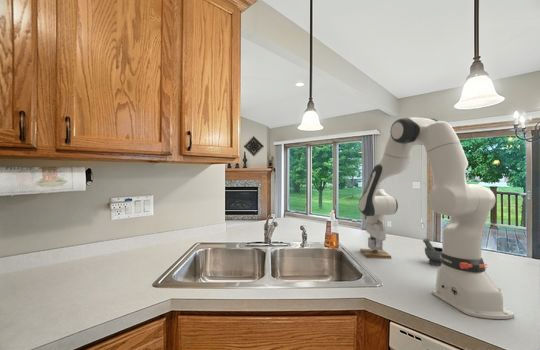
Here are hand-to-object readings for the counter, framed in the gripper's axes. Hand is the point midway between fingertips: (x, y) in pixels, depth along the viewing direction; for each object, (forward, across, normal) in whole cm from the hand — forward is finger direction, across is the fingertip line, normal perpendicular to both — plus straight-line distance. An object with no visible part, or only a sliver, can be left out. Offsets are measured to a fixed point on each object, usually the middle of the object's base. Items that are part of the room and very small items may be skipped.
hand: (375, 244), depth 139 cm
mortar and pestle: (+5, -12, -24) cm, 27 cm away
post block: (+5, 0, 0) cm, 5 cm away
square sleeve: (+2, 0, 0) cm, 2 cm away
